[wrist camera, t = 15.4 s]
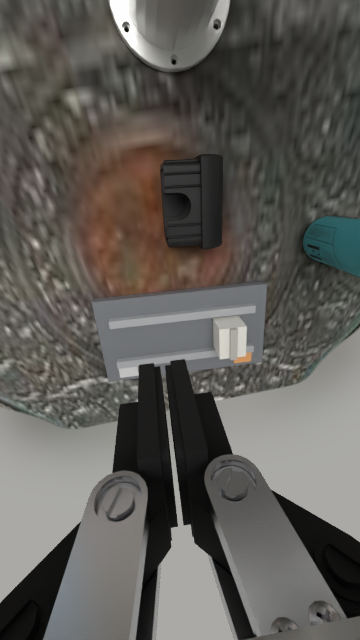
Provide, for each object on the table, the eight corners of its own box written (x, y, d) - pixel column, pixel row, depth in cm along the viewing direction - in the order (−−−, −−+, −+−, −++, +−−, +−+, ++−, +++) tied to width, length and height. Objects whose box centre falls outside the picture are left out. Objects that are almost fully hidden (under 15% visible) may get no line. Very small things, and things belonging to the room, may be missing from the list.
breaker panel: (93, 298, 42) (90, 304, 39) (263, 281, 44) (269, 285, 41) (109, 376, 48) (108, 385, 45) (258, 357, 50) (264, 365, 47)
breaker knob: (213, 318, 43) (220, 331, 39) (238, 315, 44) (248, 328, 39) (213, 346, 45) (220, 361, 41) (237, 343, 46) (247, 358, 42)
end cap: (214, 239, 40) (227, 248, 34) (165, 243, 40) (169, 252, 34) (214, 159, 36) (229, 152, 30) (159, 162, 35) (163, 156, 29)
